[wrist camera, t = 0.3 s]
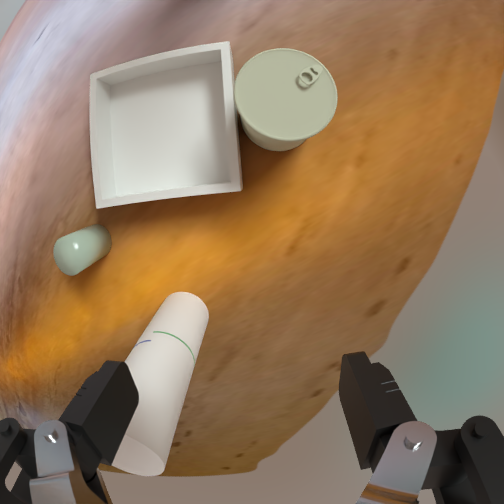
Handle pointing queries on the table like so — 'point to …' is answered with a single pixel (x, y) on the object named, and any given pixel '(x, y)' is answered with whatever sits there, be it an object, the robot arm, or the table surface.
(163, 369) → the cylindrical container
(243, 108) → the can
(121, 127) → the grey tub
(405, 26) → the table surface
